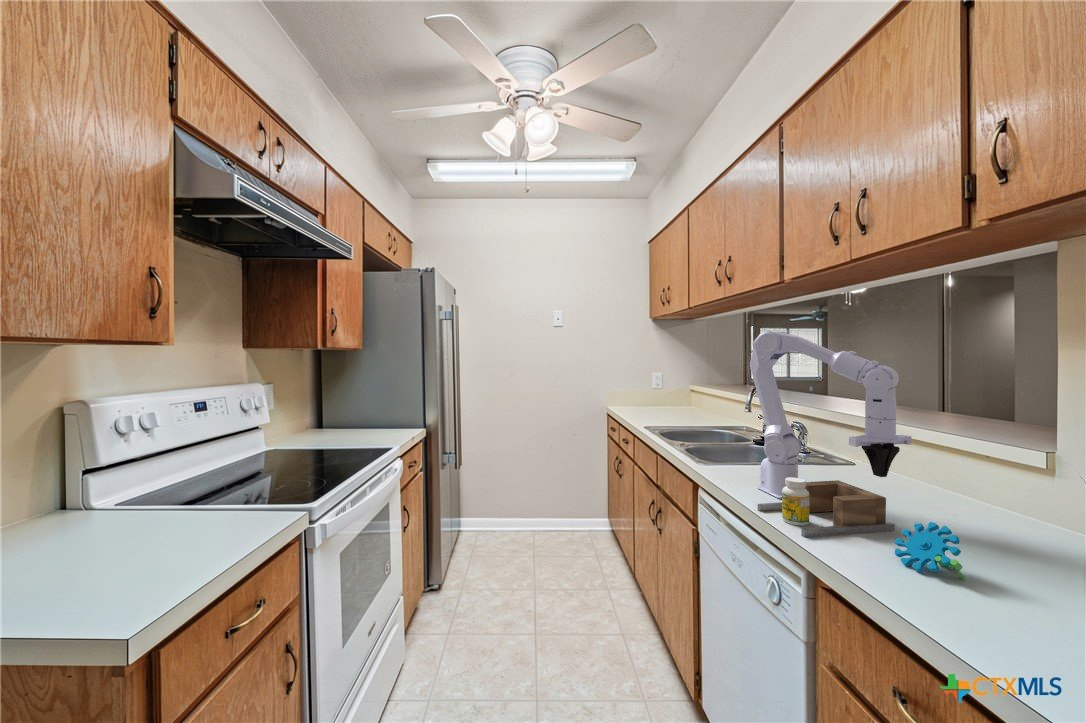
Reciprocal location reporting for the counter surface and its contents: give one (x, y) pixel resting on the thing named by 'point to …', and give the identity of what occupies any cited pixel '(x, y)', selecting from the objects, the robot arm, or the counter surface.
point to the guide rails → (833, 529)
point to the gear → (929, 549)
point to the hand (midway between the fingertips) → (879, 475)
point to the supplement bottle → (795, 502)
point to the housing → (846, 503)
